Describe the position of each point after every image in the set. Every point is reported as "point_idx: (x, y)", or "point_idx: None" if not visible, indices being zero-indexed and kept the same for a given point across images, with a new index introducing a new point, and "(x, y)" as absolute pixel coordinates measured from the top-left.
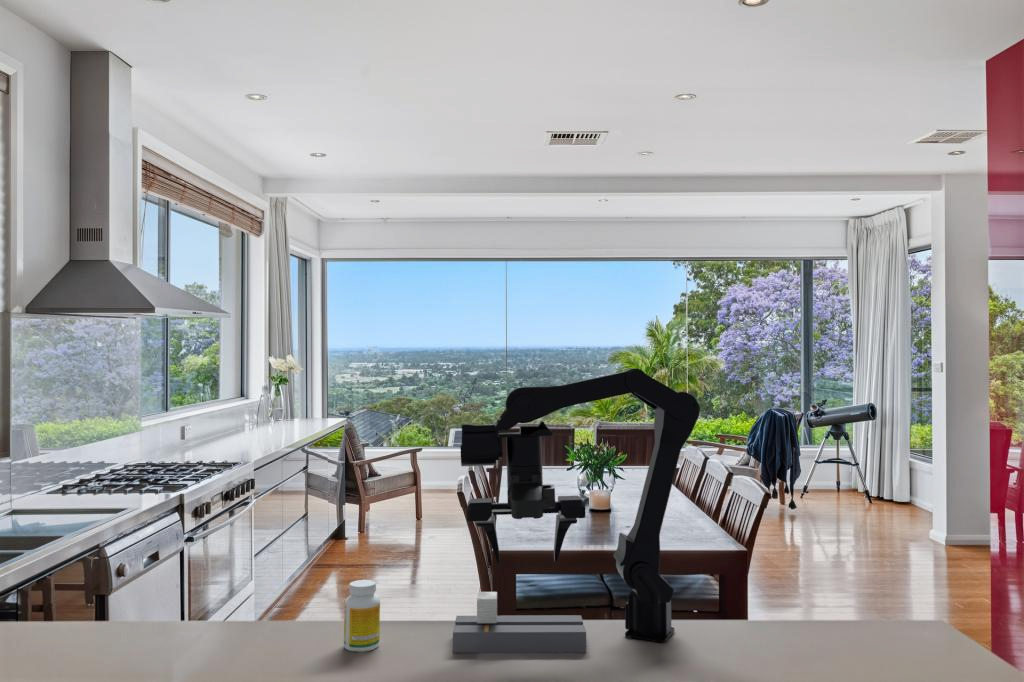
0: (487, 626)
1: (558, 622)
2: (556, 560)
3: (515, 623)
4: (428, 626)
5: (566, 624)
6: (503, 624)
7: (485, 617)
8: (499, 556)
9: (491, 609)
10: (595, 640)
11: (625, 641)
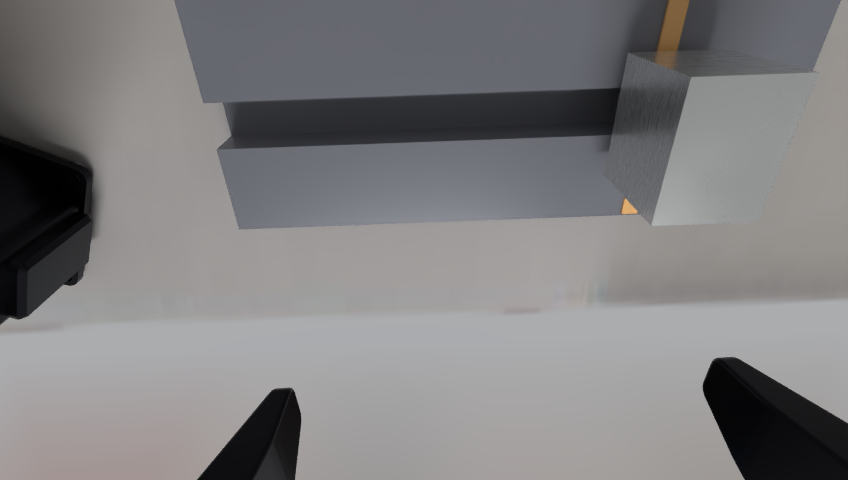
0: None
1: (327, 144)
2: (275, 395)
3: (518, 136)
4: (785, 253)
5: (293, 142)
6: (569, 134)
7: (698, 56)
8: (757, 398)
9: (690, 62)
10: (199, 137)
11: (81, 129)
